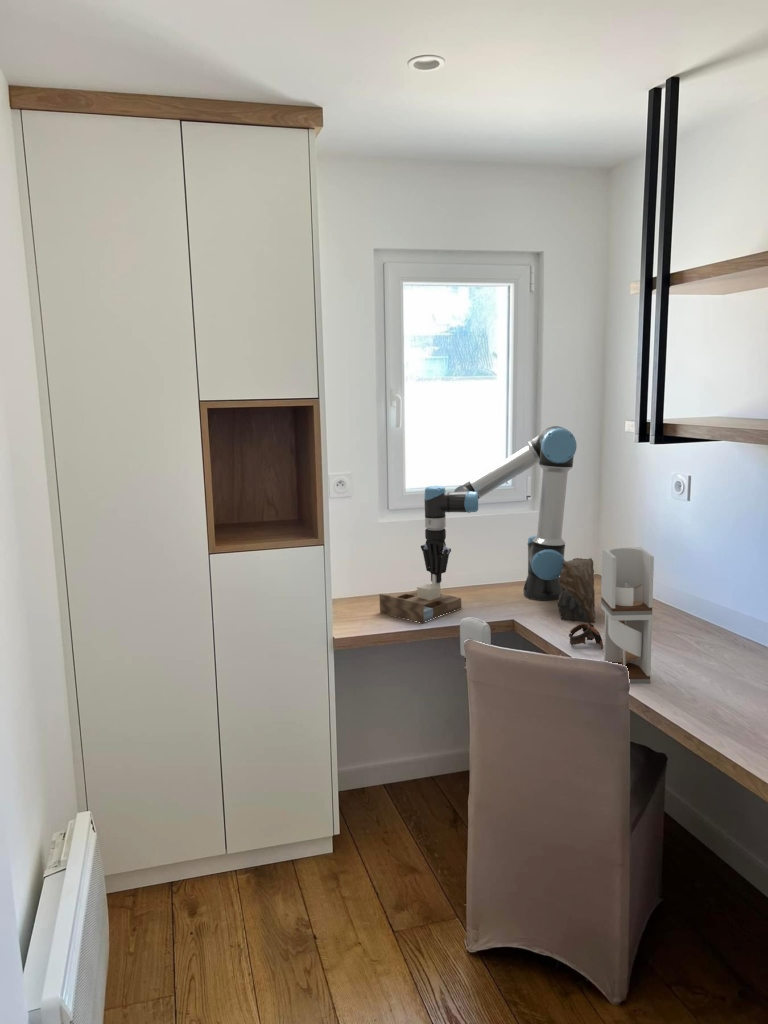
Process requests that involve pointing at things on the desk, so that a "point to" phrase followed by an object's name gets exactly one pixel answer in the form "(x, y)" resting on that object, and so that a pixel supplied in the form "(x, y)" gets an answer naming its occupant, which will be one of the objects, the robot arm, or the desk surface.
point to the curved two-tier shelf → (628, 609)
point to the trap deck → (418, 606)
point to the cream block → (428, 591)
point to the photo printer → (474, 632)
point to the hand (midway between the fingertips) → (436, 590)
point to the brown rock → (577, 591)
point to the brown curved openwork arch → (585, 634)
